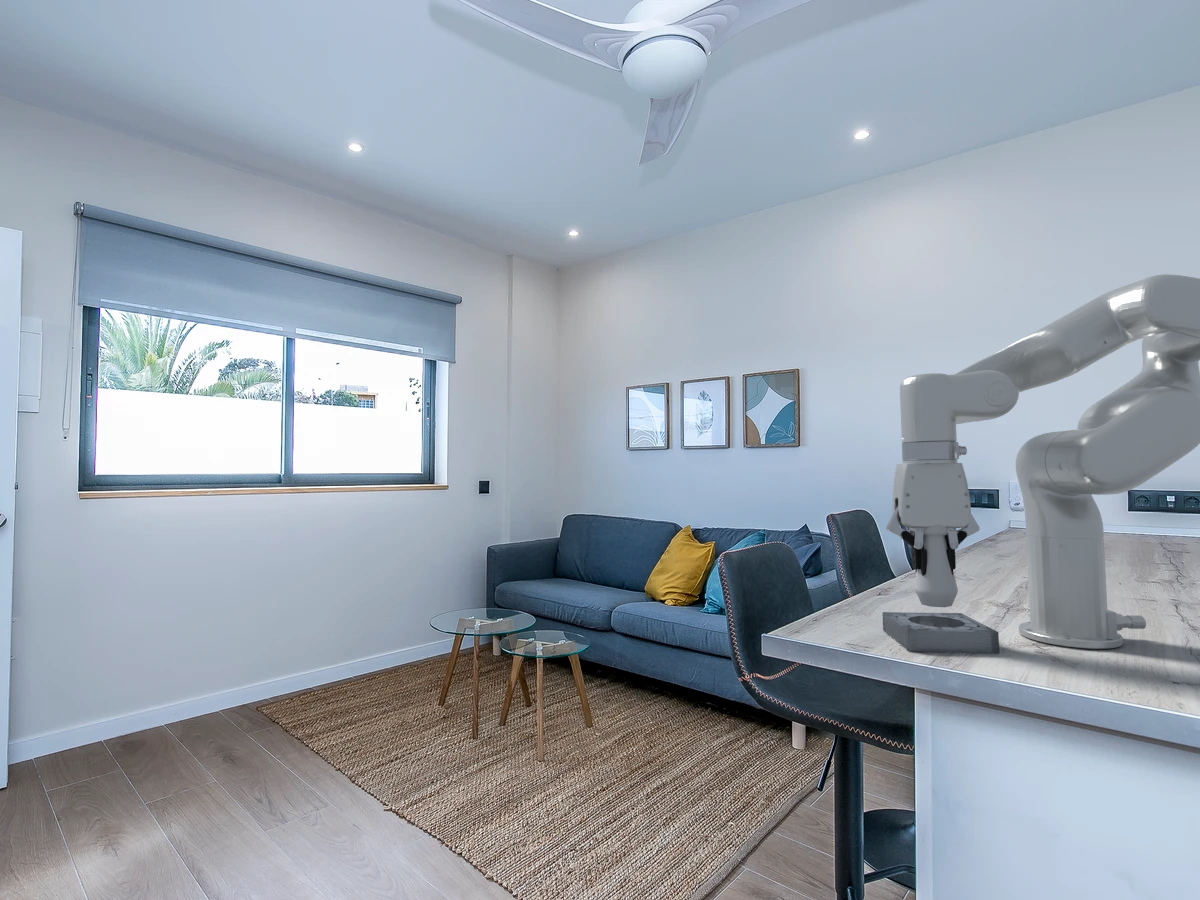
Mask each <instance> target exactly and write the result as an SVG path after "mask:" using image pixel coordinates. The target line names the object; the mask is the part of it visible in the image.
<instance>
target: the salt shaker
mask: <svg viewBox="0 0 1200 900" xmlns="http://www.w3.org/2000/svg"><path fill="white" fill-rule="evenodd" d="M947 534H948V528H946V527H943V526H942V525H936V524H935V525H934V526H933V527H928V528H924V534H923V545H924V549H926V550H927V566H926V570H927V571H926V574H925V575H924V576H922V573H921V569H917V573H916V572H915V579H914V586H913V587H914V591H915V594H916V596H917V597H918V600H919V601H920V604H921V605H923V606H926V607H931V608H948V607H952V606H953V604H954V601H955V599H956V597H957V595H958V592H959V588H958V585H957V581H956V577H955V576H956V575H955V572H954V571H953V575H952V572H951V569H950V566H949V561H948V558H947V552H946V550H947V549H948V548H947V544H946V540H945V535H947Z"/></svg>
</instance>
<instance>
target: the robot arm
mask: <svg viewBox="0 0 1200 900" xmlns="http://www.w3.org/2000/svg"><path fill="white" fill-rule="evenodd" d="M1138 340H1142V341H1141V351H1142V352H1141V353H1142V368H1141V371H1140V372H1139V373H1138V374H1137V375H1135V376H1133V378H1132V379H1131V380H1129V381H1128V382H1125V384H1123V385H1122V386H1120V387H1119V388H1117V389H1115V390H1114V391H1111V392H1110V393H1109V394H1107V395H1106V396H1104V397H1103V398H1101V399H1099V400H1098V401H1096V402H1095V403H1093V404H1092V405H1091V406H1090V407H1088V408H1087V409H1086V410H1085V411H1084V413H1083V414H1082V415H1081V417H1080V418H1079V420H1078V423H1077V429H1071V430H1062V431H1060V430H1059V431H1051V432H1047V433H1046V432H1045V433H1041V434H1039V435H1036V436H1034V437H1032V438H1030V439H1029V440H1027V441H1026V442H1025V443H1024V444H1023V445H1022V446H1021V447H1020V449H1019V450H1018V452H1017V454H1016V459H1015V472H1016V476H1017V481H1018V484H1019V488H1020V492H1021V496H1022V501H1023V502H1022V503H1023V507H1024V517H1025V518H1024V519H1025V539H1026V543H1025V544H1026V559H1027V560H1026V562H1027V580H1028V581H1027V582H1028V600H1029V601H1028V603H1029V619H1030V621H1025V622H1022V623H1020V624H1019V625H1018V630H1019V631H1018V632H1019V633H1020V635H1021V636H1023V637H1025V638H1028V639H1030V640H1033V641H1037V642H1041V643H1044V644H1050V645H1055V646H1062V647H1069V648H1078V649H1079V648H1080V649H1094V650H1095V649H1096V650H1097V649H1099V650H1100V649H1101V650H1103V649H1104V650H1105V649H1115V648H1119V647H1121V646H1123V644H1124V638H1123V637H1124V636H1122V634H1120V633H1118V631H1122V630H1123V629H1130V630H1133V629H1135V630H1139V629H1140V630H1144V629H1145V628H1146V626H1147V622H1146V619H1145V617H1143V615H1128V614H1127V615H1123V614H1122V613H1118V612H1116V611H1113V610H1111V609H1108V593H1107V577H1106V561H1105V560H1106V559H1105V557H1106V556H1105V542H1104V541H1105V540H1104V539H1105V537H1104V536H1105V535H1104V534H1105V533H1104V530H1105V529H1104V523H1103V518H1102V514H1101V511H1100V510H1099V506H1098V505H1097V503H1096V501H1095V499H1094V497H1093V495H1098V496H1100V495H1103V496H1104V495H1105V496H1106V495H1110V496H1111V495H1118V494H1122V493H1126V492H1128V491H1129V492H1130V491H1132V490H1133V489H1135V488H1137V487H1139V486H1141V485H1143V484H1144V483H1147V481H1149V480H1150V479H1152V478H1154V477H1155V476H1157V475H1159V473H1161V472H1163V471H1164V470H1165V469H1167V468H1169V467H1170V466H1171V465H1173V464H1175V463H1176V462H1177V461H1179V460H1180V459H1181V460H1182V458H1184V457H1185V456H1187V455H1188V454H1190V453H1191V452H1192V451H1193V450H1195V449H1196V448H1197V447H1198V446H1199V445H1200V367H1199V361H1200V278H1199V277H1193V276H1189V275H1188V276H1187V275H1180V274H1164V273H1163V274H1157V275H1152V276H1149V277H1146V278H1143V279H1141V280H1138V281H1135V282H1132V283H1129V284H1127V285H1124V286H1123V285H1122V286H1121V287H1118V288H1116V289H1113V290H1110V291H1108V292H1104V293H1103V294H1101V295H1099V296H1097V297H1095V298H1094V299H1092V300H1090V301H1088V302H1086V303H1085V304H1083V305H1080V306H1079V307H1077V308H1076V309H1074V310H1072V311H1070V312H1068V313H1067V314H1066V315H1063V316H1062V317H1060V318H1058V319H1056V320H1054V321H1052V322H1050V323H1049V324H1047V325H1045V326H1043V327H1041V328H1039V329H1038V330H1036V331H1034V332H1032V333H1030V334H1028V335H1026V336H1024V337H1022V338H1020V339H1018V340H1017V341H1015V342H1013V343H1011V344H1009V345H1007V346H1006V347H1004V348H1002V349H999V350H998V351H997V352H994V353H992V354H990V355H988V356H986V357H985V358H982V359H980V360H978V361H977V362H974V363H973V364H971V365H969V366H967V367H965V368H963V369H962V370H960V371H958V372H956V373H955V374H953V373H952V374H947V373H942V372H941V373H935V372H933V373H920V374H915V375H910V376H907V377H905V378H903V379H902V381H901V382H900V385H899V401H900V404H899V405H900V409H899V410H900V427H901V428H900V429H901V431H900V432H901V433H900V434H901V455H902V458H901V459H902V463H898V464H896V466H895V471H894V479H893V491H892V508H891V509H892V516H891V517H890V518H889V521H888V523H887V524H886V527H885V529H886V531H888V532H889V533H892V534H893V535H895V536H897V537H900V538H901V540H903V541H904V542H905V543H906V544H907V545H908V547H909V548H911V565H912V569H913V570H915V574H916V573H917V569H921V573H922V576H924V575H925V574H926V571H927V570H926V566H927V550H926V549H924V545H923V534H924V528H928V527H933V526H934V525H935V524H936V525H942V526H943V527H946V528H948V534H947V535H945V540H946V544H947V548H948V549H947V550H946V552H947V558H948V561H949V566H950V569H951V572H952V575H953V572H954V570H956V565H957V563H956V562H957V561H956V550H957V549H959V545H960V544H961V543H962V542H964V540H965V539H967V538H968V537H970V536H972V535H974V534H976V533H979V531H980V529H981V528H980V526H979V524H978V523H977V521H976V518H975V517H974V516H973V514H972V507H971V505H972V504H971V498H970V491H969V490H970V489H969V485H968V480H967V476H966V471H965V468H964V465H963V463H962V462H959V460H960V457H961V456H965V455H967V453H968V449H967V446H961V445H959V442H958V441H957V425H961V424H968V423H973V422H982V421H989V420H994V419H998V418H1000V417H1003V416H1005V415H1006V414H1008V413H1009V412H1010V411H1011V410H1012V409H1013V408H1014V407H1015V406H1016V404H1017V403H1018V400H1019V395H1020V393H1022V392H1025V391H1028V390H1031V389H1036V388H1038V387H1043V386H1047V385H1050V384H1053V383H1056V382H1058V381H1060V380H1063V379H1066V378H1069V377H1071V376H1073V375H1075V374H1077V373H1079V372H1080V371H1083V370H1084V369H1086V368H1087V367H1089V366H1091V365H1092V364H1094V363H1096V362H1098V361H1100V360H1102V359H1103V358H1105V357H1107V356H1108V355H1110V354H1113V353H1115V352H1116V351H1117V350H1120V349H1121V348H1123V347H1125V346H1127V345H1129V344H1131V343H1133V342H1136V341H1138ZM901 526H902V527H906V528H908V530H906V529H904V528H902V527H901Z"/></svg>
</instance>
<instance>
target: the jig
mask: <svg viewBox="0 0 1200 900" xmlns="http://www.w3.org/2000/svg"><path fill="white" fill-rule="evenodd" d="M883 630H884V631H885V632H886V635H888V636H889V635H890V636H891V637H890V636H889V637H890V638H891V639H893V640H894V639H895V640H896V643H898V644H899V645H900V644H901V645H900V646H902V647H903V648H904V649H905V648H906V649H905V650H906V651H908V652H909V653H911V652H912V653H917V652H918V653H951V654H952V653H953V654H954V653H955V654H956V653H957V654H958V653H960V654H961V653H962V654H963V653H965V654H967V653H968V654H998V653H999V654H1000V640H999V634H1000V633H999V631H998V630H996V629H993V628H991V627H990V626H988V625H985V624H984V623H981V622H979V621H977V620H975V619H973V618H971V617H969V616H967V614H964V613H961V612H907V611H906V612H900V611H899V612H898V611H897V612H896V611H895V612H894V611H893V612H892V611H889V612H888V611H883V612H882V631H883ZM884 631H883V632H884ZM885 632H884V633H885ZM895 640H894V641H895Z"/></svg>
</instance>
